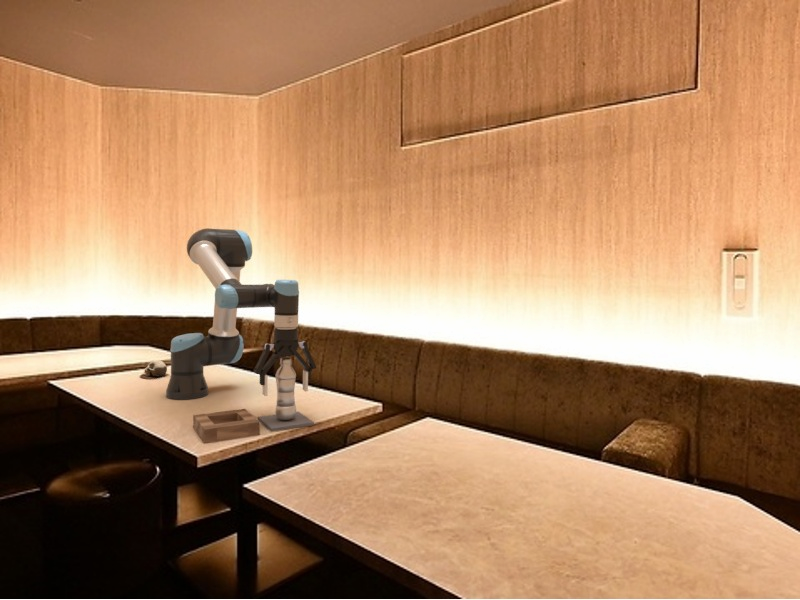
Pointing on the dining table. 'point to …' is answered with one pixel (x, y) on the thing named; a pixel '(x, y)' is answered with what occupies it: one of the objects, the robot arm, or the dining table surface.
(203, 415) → the walnut block
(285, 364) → the plastic bottle
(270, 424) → the charcoal mat
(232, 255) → the robot arm
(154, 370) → the skull
